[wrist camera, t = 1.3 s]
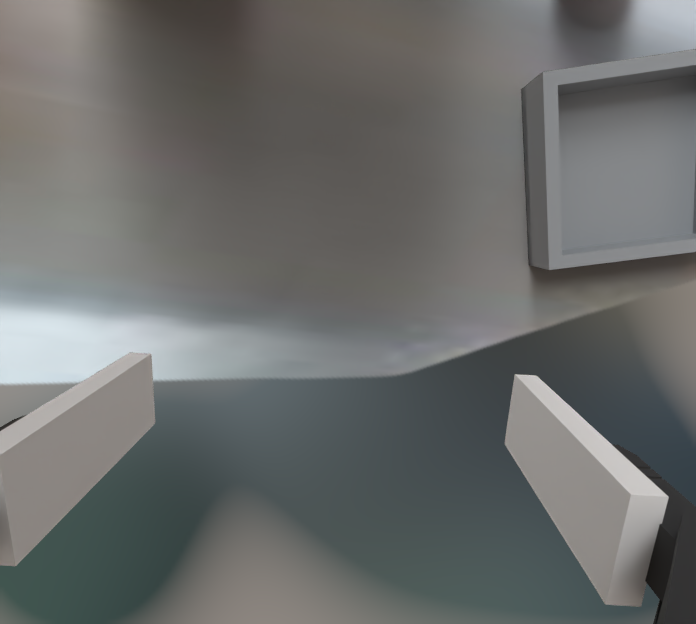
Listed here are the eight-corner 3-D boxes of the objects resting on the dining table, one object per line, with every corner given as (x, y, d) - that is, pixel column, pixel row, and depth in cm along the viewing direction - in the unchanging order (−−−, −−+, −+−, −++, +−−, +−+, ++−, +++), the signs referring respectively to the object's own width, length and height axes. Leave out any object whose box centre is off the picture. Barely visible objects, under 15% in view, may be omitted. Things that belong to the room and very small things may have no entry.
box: (521, 89, 33) (542, 71, 30) (704, 62, 33) (751, 40, 29) (528, 264, 36) (549, 270, 32) (697, 243, 36) (738, 246, 32)
